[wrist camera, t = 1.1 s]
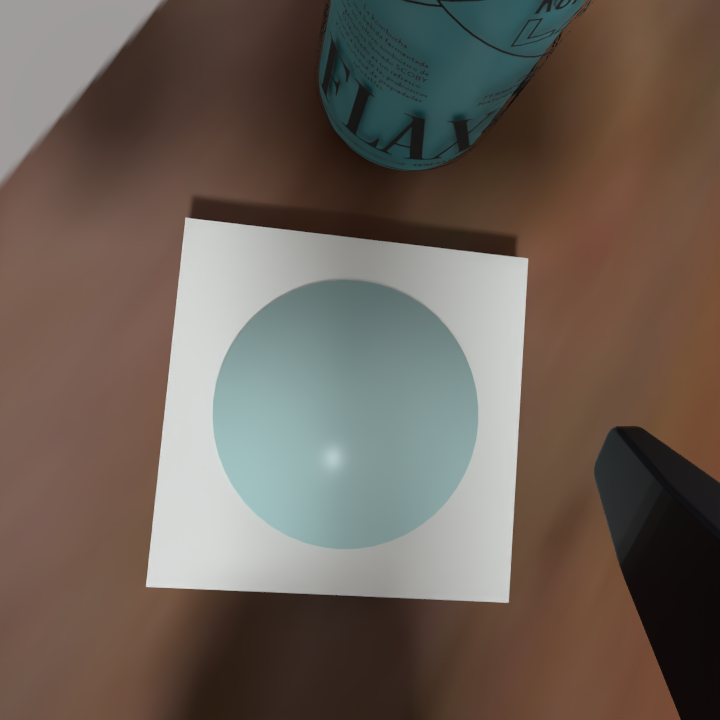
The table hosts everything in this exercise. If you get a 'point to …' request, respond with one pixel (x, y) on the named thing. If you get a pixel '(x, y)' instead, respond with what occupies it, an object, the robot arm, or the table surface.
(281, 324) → the pad
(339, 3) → the beverage bottle
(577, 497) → the table surface
